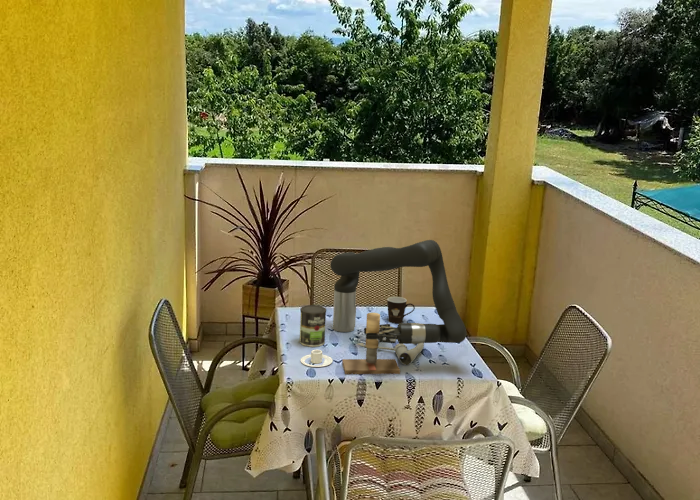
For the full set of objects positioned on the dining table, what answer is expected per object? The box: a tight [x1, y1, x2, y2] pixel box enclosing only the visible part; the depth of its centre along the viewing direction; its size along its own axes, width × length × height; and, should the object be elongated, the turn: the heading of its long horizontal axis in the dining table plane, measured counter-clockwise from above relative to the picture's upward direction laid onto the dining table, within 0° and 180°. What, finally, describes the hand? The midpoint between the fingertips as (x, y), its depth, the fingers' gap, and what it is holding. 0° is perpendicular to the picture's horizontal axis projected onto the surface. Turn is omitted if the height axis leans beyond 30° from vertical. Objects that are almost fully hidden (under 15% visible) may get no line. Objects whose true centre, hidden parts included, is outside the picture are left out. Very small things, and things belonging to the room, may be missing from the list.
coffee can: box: [299, 304, 327, 348], centre depth 267 cm, size 10×10×14 cm
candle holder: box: [300, 349, 333, 368], centre depth 250 cm, size 12×12×4 cm
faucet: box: [356, 342, 425, 366], centre depth 267 cm, size 5×28×28 cm
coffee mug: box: [386, 296, 416, 325], centre depth 296 cm, size 12×9×10 cm
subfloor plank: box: [342, 358, 401, 375], centre depth 246 cm, size 20×10×2 cm, turn 97°
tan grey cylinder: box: [364, 312, 381, 363], centre depth 244 cm, size 5×5×18 cm
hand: (365, 333), depth 243 cm, fingers closed on tan grey cylinder, 4 cm apart
